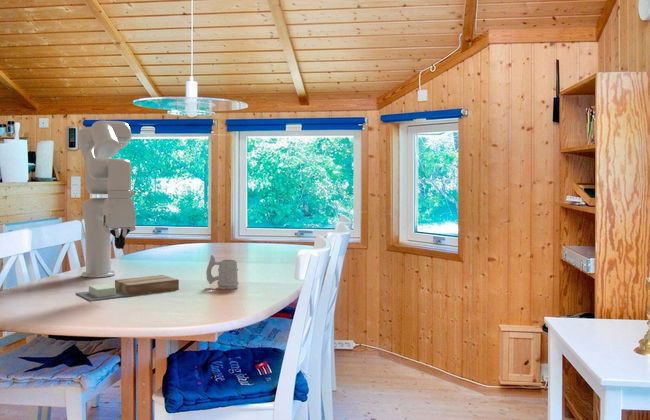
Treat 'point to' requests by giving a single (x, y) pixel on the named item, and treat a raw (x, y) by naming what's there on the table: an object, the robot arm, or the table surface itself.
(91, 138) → the robot arm
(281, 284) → the table surface
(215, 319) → the table surface
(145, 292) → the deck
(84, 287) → the table surface
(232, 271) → the mug
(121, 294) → the mat
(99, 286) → the tile
